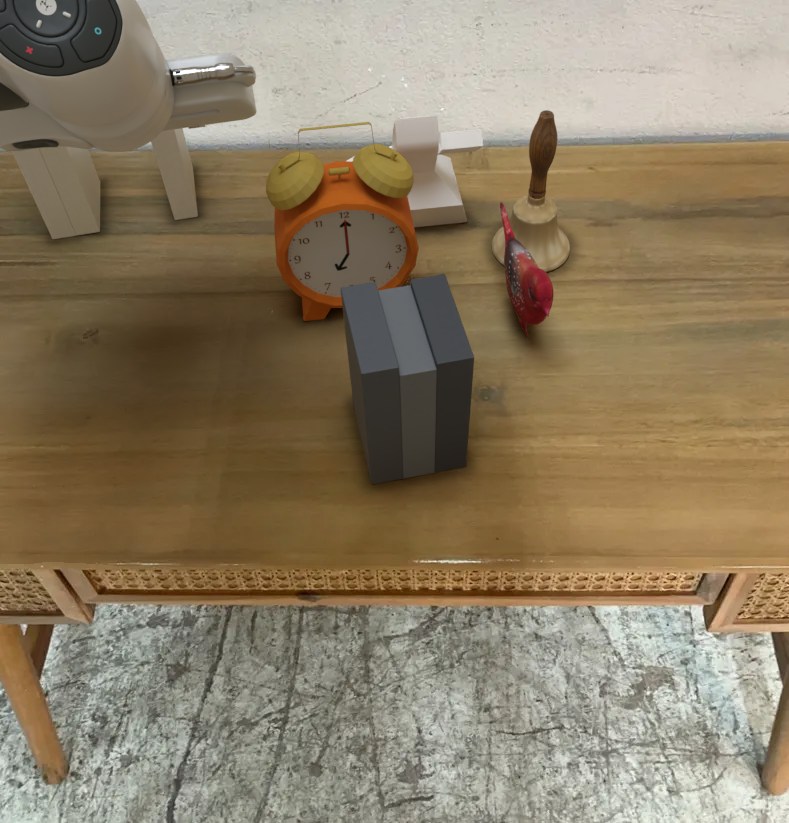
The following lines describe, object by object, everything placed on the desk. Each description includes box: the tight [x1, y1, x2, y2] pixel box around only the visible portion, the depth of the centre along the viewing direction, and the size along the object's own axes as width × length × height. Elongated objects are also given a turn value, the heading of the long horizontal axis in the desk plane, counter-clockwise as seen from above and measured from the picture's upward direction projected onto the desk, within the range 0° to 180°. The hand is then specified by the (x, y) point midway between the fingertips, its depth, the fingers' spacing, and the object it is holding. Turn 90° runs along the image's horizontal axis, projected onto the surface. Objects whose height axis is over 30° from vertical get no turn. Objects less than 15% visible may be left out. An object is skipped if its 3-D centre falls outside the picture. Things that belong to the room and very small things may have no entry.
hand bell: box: [491, 109, 571, 273], centre depth 83 cm, size 8×8×16 cm
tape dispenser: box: [346, 115, 484, 228], centre depth 88 cm, size 8×14×14 cm, turn 97°
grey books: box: [341, 273, 475, 485], centre depth 69 cm, size 8×9×15 cm
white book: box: [150, 128, 199, 221], centre depth 90 cm, size 3×9×14 cm, turn 12°
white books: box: [11, 146, 101, 240], centre depth 89 cm, size 5×9×15 cm, turn 12°
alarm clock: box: [265, 121, 419, 322], centre depth 77 cm, size 13×6×20 cm, turn 97°
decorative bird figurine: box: [499, 201, 554, 340], centre depth 80 cm, size 3×18×10 cm, turn 9°
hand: (141, 125), depth 73 cm, fingers open, 8 cm apart
